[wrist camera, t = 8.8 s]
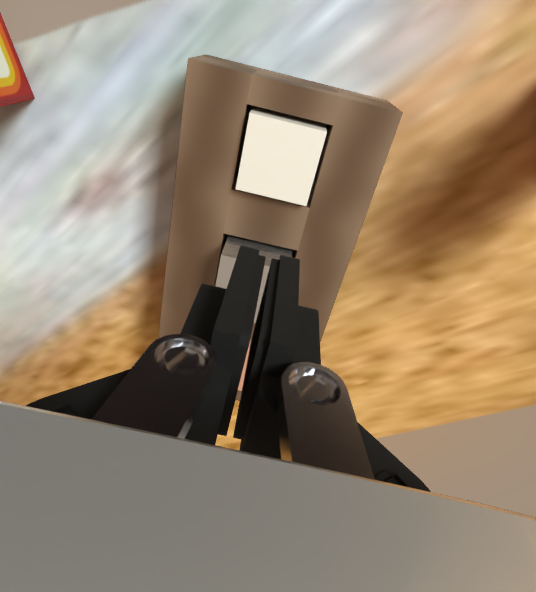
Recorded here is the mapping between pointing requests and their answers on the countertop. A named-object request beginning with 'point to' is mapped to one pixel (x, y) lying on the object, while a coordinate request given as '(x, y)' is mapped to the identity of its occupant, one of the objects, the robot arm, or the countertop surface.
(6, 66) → the baking soda box
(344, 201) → the key panel
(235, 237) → the grey cube
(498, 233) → the countertop surface
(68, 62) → the countertop surface
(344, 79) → the countertop surface
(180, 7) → the countertop surface
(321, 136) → the ivory key
